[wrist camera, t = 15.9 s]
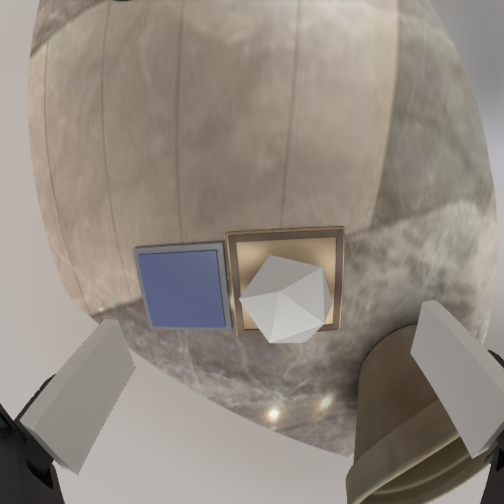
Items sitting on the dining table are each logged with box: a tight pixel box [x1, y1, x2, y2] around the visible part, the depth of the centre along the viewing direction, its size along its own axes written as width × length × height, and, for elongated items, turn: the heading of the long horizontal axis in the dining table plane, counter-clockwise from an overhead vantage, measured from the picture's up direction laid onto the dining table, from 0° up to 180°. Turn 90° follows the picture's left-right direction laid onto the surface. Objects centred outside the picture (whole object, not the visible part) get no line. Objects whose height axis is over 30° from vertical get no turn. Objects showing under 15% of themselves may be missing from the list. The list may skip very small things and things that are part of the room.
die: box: [239, 255, 332, 343], centre depth 27 cm, size 8×9×10 cm
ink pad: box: [133, 242, 232, 331], centre depth 32 cm, size 11×11×1 cm
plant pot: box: [346, 324, 498, 504], centre depth 24 cm, size 25×25×22 cm
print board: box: [226, 226, 345, 336], centre depth 31 cm, size 13×13×1 cm
